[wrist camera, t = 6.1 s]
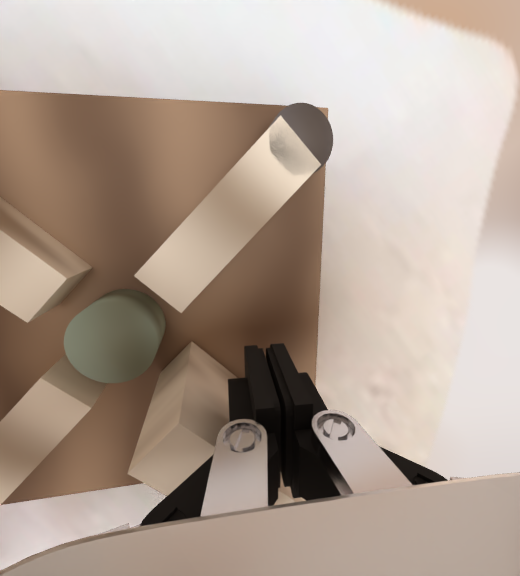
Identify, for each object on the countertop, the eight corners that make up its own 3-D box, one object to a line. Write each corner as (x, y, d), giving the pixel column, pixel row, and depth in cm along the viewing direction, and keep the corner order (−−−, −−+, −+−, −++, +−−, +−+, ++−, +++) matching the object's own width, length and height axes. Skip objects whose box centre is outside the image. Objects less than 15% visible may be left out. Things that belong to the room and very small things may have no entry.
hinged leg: (311, 434, 17) (360, 542, 12) (282, 462, 18) (316, 583, 12) (193, 339, 15) (180, 420, 9) (159, 374, 15) (125, 475, 9)
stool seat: (-11, 471, 17) (-94, 565, 13) (-127, 105, 12) (-337, 37, 8) (300, 429, 20) (326, 492, 16) (310, 124, 15) (352, 85, 11)
